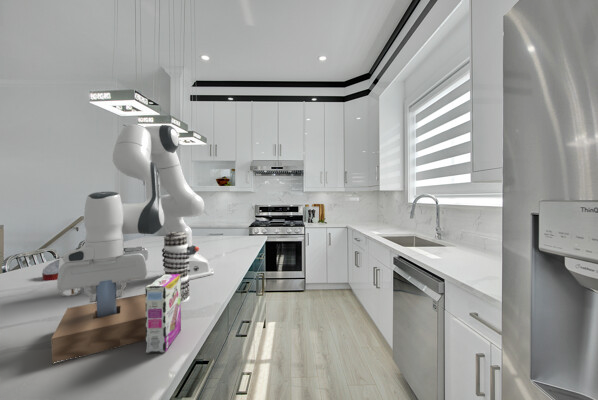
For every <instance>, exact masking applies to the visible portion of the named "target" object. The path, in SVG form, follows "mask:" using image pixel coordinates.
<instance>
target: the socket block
mask: <svg viewBox="0 0 598 400" xmlns="http://www.w3.org/2000/svg"><path fill="white" fill-rule="evenodd" d="M116 308H117V314H114V315H109V316H105V317H100V318H97V302H92V303H88V304H82V305H78V306H72V307H68V308H66V310H65V312H64V314H63V316H62V318H61V320H60V321H59V324H58V325H57V328H56V329H55V331H54V333H53V335H52V336H51V362H52V363H54V362H57V361H61V360H66V359H70V358H75V357H78V358H80V357H79V356H82V357H85V356H84V355H86V356H89V355H88V354H90V355H93V354H92V353H94V354H97V353H101V352H104V350H105V351H108V350H107V349H109V350H111V348H113V349H115V347H116V348H119V346H120V347H123V346H122V345H124V346H127V345H126V344H128V345H131V343H132V344H135V343H138V342H143V341H146V293H142V294H138V295H137V294H136V295H132V296H127V297H119V298H116ZM100 351H101V352H100ZM96 352H97V353H96ZM75 359H76V358H75Z"/></svg>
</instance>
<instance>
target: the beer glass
mask: <svg viewBox="0 0 598 400" xmlns="http://www.w3.org/2000/svg"><path fill="white" fill-rule="evenodd" d="M58 260H59V269H60V267H61V266H62V264H63V263H64V261H63V255H62V256H60V257H59V258H58ZM81 293H82V288H77V289H70V290H64V291H61V297H63V298H66V297H72V296H73V297H74V296H77V295H79V294H81Z"/></svg>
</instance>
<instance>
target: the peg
mask: <svg viewBox="0 0 598 400" xmlns="http://www.w3.org/2000/svg"><path fill="white" fill-rule="evenodd" d="M116 290H117V282H116V283H112V280H108V281H101V282H99V285H96V286H95V292H96V293H95V294H96V302H95V303H97V318H100V317H105V316H109V315H114V314H117V308H116V299H117V298H116Z"/></svg>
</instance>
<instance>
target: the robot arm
mask: <svg viewBox="0 0 598 400" xmlns="http://www.w3.org/2000/svg"><path fill="white" fill-rule="evenodd" d="M179 144H180V137H179V134H178V132H177V130H176V128H174V127H173V126H172V125H169V124H168V125H167V124H161V125H149V126H148V125H147V126H142V125H139V124H133V123H132V124H128V125H125V126H124V127H123V128H122V129H121V131H120V132H119V135H118V137H117V139H116V142H115V145H114V147H113V148H114V149H113V152H112V162H113V166H115V168H116V170H118V171H119V172H120V173H122V174H124V175H125V176H127V177H130V178H134V179H137V180H139V181H142V182H144V183H145V194H146V195H145V197H146V199H145V201H142V202H122V198H121V195H120V193H118V192H115V191H99V192H98V191H97V192H93V193H90V194H88V195H87V197H86V199H85V204H84V213H83V217H84V219H83V224H84V226H83V227H84V228H85V230H86V235H85V238H84V245H81V246H78V247H76V248H73V249H70V250H68V251H65V252H64V254H63V255H62V256H63V261H64V263H63V264H62V266H61V267H60V269H59V273H58V279H57V280H56V281H57V282H56V287H57V289H58V290H59V291H61V292H62V291H64V290H70V289H77V288H81V289H82V288H83V292H84V293H85V294H86V295H87V297H88V298H89V304H92V303H97V302H96V293H93V292H92V287H96V285H99V282H101V281H108V280H112V283H116V284H117V283H120V286H121V287H120V288H119V289H118V290H117V289H116V299H120V298H123V291H124V289H125V288H126V286H127V282H128V281H134V280H142V279H145V278H146V277H147V275H148V267H147V262H146V261H148V258H149V250H148V249H147V248H145V247H143V246H136V247H134V246H133V247H125V241H124V240H125V239H124V238H125V237H124V235H125V234H126V235H130V234H131V235H132V234H141V235H155V234H156V233H157V232H159V231H160V230H161V229H162V228H163V227H164V230H165V235H166V234H167V233H169V232H176V231H182V232H184V233H185V234H186V235H188V236H187V244H188V247H190V248H189V249H187V252H189V254H188V255H187V256H189V258H188V259H187V261H188V262H189V264H187V265H188V266H189V268H187V271H188V272H187V274H188V279H189V281H191V280H194V279H199V278H202V277H204V278H205V277H206V276H207V277H208V276H213V275H214V274H215V270H214V268H213V267H211V266H210V263H209V261H208V259H207V258H206V257H204V256H203V255H201V254H200V253H198V252H199V251H200V248H199V247H198V246H196V245H193V231H192V228H191V227H190V226H189V225H188V224H186V222H185V221H184V218H196V217H198V216H201V215H202V213H203V212H204V211H205V201H204V198H202V197H201V196H200V195H198V194H197V193H196V192H195V191H194V190H193V189H192V188H191V187H190V185H189V184H188V183H187V180H186V178H185V176H184V172H183V170H182V169H183V168H182V165H181V162H180V159H179V156H178V153H177V151H176V150H177V149H178V147H179ZM161 188H162V189H163V190H165V191H166V192H167V194H162V189H161Z"/></svg>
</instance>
